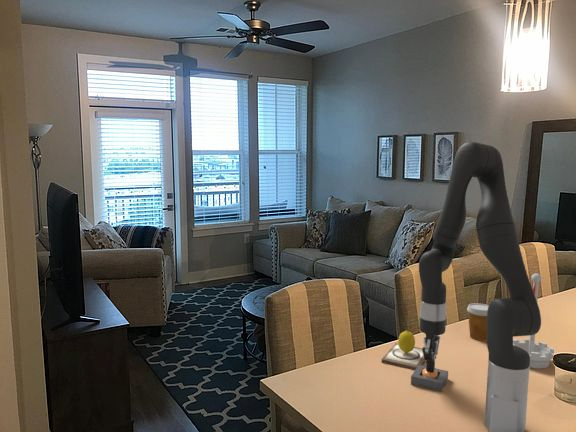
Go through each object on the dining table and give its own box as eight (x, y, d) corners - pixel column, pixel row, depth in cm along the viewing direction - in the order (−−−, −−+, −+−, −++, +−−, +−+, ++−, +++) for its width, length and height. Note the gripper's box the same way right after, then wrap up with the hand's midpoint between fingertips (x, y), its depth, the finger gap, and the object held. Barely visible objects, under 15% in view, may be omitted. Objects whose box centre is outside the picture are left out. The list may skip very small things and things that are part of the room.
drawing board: (417, 370, 150) (418, 366, 150) (381, 362, 156) (381, 358, 155) (429, 352, 164) (429, 349, 163) (395, 345, 169) (395, 342, 169)
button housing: (441, 391, 136) (442, 383, 136) (410, 384, 140) (411, 376, 140) (447, 378, 144) (448, 371, 144) (418, 372, 148) (418, 364, 148)
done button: (435, 384, 139) (435, 376, 139) (420, 380, 141) (420, 372, 141) (438, 378, 143) (439, 370, 143) (424, 374, 145) (424, 367, 145)
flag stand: (514, 350, 166) (520, 267, 163) (556, 360, 158) (563, 273, 155) (504, 362, 156) (509, 274, 153) (548, 373, 148) (555, 280, 145)
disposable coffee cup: (498, 340, 175) (500, 309, 174) (478, 343, 172) (480, 311, 171) (479, 331, 184) (480, 301, 183) (459, 334, 181) (461, 304, 179)
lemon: (396, 354, 158) (396, 331, 158) (400, 348, 163) (401, 326, 162) (412, 357, 156) (413, 334, 155) (416, 352, 161) (417, 329, 160)
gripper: (441, 324, 132) (438, 383, 134) (450, 311, 144) (447, 365, 146) (414, 320, 136) (412, 377, 138) (425, 307, 147) (423, 360, 150)
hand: (430, 371), depth 142 cm, fingers closed
